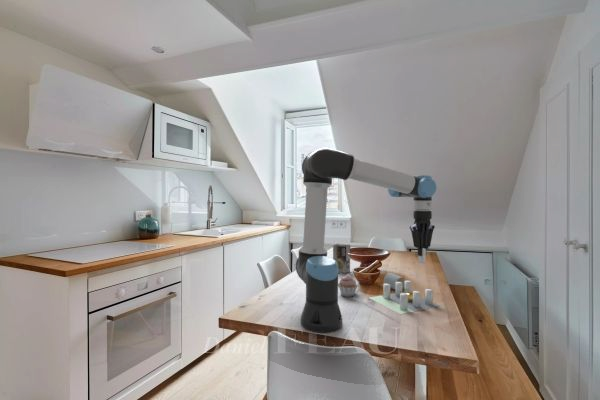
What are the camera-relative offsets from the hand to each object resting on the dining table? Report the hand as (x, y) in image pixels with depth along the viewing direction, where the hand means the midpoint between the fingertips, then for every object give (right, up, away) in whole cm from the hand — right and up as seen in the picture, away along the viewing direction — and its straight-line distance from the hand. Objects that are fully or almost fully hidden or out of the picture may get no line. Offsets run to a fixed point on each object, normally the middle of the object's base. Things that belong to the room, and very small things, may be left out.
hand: (421, 262), depth 133 cm
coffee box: (-29, -16, +50) cm, 60 cm away
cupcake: (-32, -17, +7) cm, 37 cm away
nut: (-6, -16, -2) cm, 17 cm away
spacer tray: (-10, -17, -4) cm, 20 cm away
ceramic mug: (-6, -17, +16) cm, 24 cm away
